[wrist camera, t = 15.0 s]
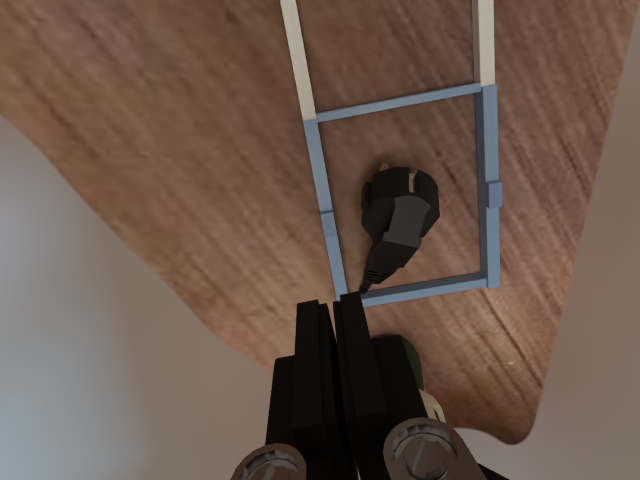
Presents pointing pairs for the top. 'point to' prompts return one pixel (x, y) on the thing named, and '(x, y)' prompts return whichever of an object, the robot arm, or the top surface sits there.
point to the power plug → (396, 218)
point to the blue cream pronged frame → (483, 105)
